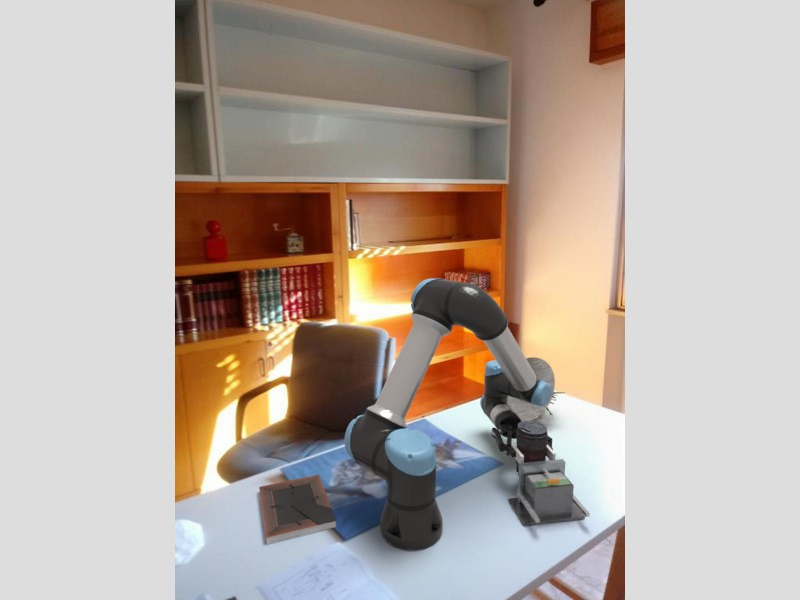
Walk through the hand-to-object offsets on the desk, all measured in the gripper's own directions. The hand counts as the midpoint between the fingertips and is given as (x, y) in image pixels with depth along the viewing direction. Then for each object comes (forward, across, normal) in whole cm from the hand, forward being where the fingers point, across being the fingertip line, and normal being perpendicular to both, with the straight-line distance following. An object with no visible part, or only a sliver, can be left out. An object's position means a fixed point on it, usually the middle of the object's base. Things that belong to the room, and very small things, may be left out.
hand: (538, 459), depth 122 cm
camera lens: (-5, 0, -8) cm, 9 cm away
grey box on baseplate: (+6, 0, -11) cm, 13 cm away
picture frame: (-6, +63, -12) cm, 65 cm away
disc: (-48, -20, -11) cm, 53 cm away
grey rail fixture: (+8, 0, -10) cm, 13 cm away
